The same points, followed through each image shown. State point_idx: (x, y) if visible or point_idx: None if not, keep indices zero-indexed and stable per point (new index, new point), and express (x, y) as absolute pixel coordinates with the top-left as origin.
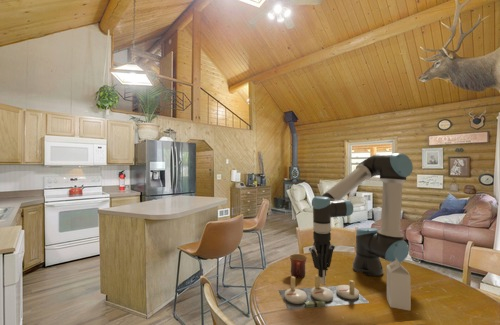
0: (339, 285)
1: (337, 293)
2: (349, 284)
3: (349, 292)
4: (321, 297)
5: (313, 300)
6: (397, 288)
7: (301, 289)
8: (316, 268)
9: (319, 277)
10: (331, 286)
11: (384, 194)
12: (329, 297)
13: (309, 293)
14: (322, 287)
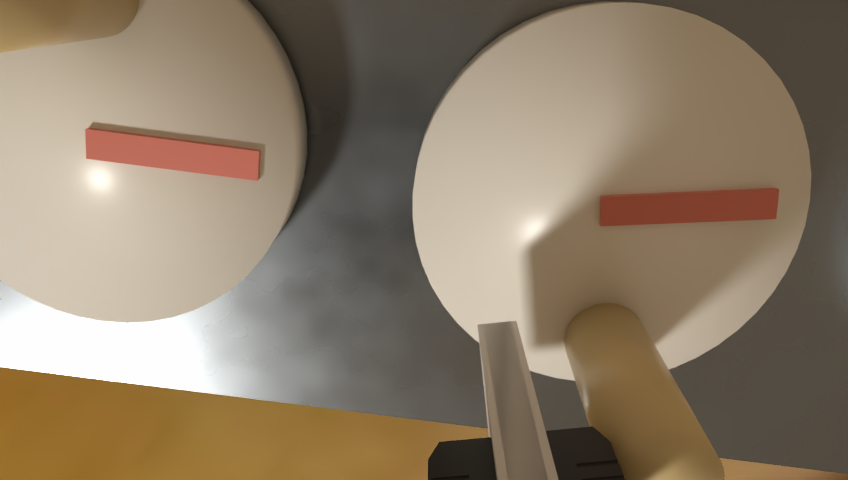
0: (158, 316)
1: (303, 168)
2: (40, 19)
3: (126, 10)
4: (746, 43)
5: (819, 111)
6: None
7: (781, 439)
8: None
9: (635, 427)
10: (260, 395)
11: None
12: (593, 6)
13: None
14: None
